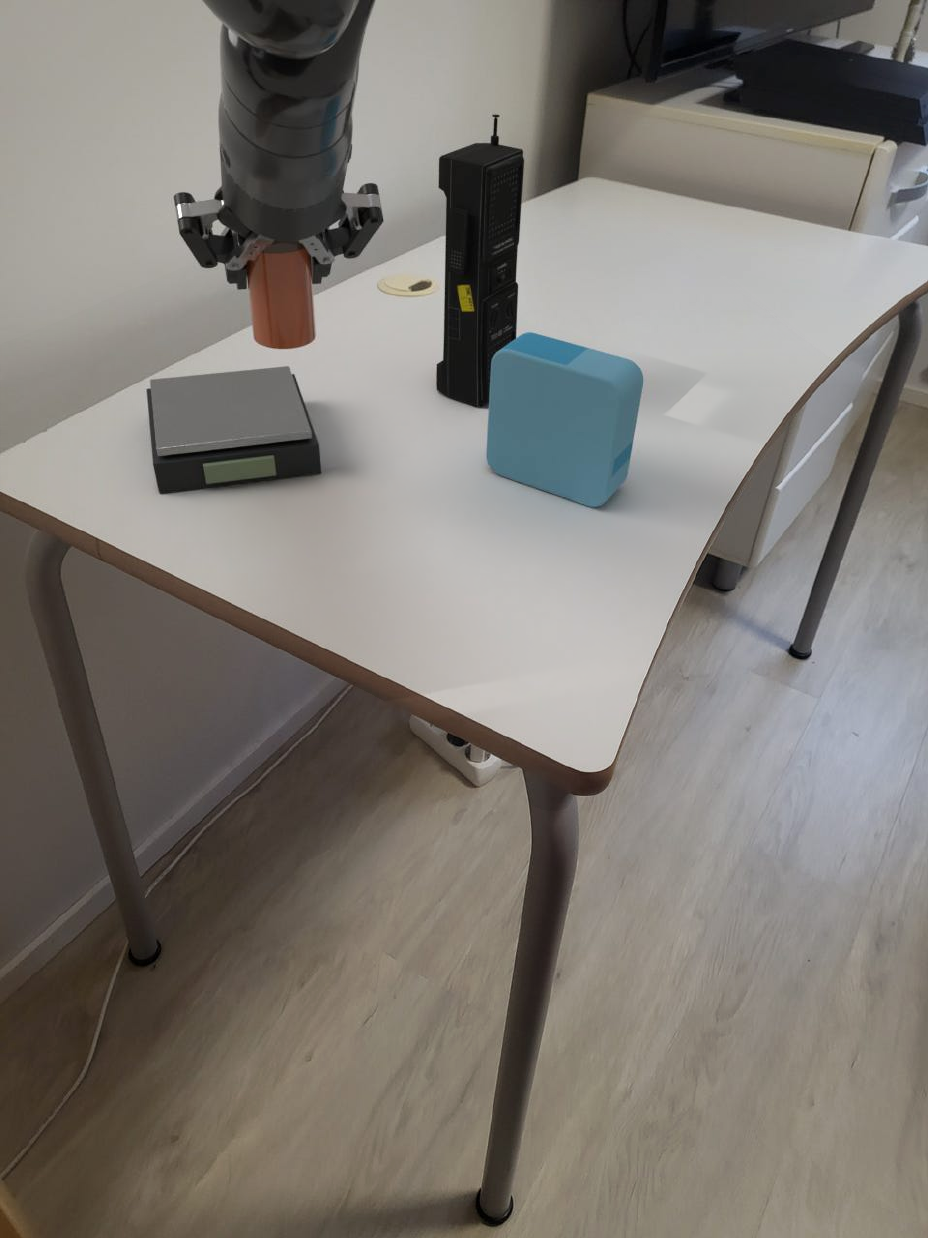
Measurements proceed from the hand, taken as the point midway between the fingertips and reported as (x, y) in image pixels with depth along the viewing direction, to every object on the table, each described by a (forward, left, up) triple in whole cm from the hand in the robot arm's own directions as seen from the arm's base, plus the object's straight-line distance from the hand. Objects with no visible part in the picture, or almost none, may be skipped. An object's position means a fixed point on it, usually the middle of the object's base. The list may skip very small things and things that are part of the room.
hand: (276, 274), depth 72 cm
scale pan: (-5, +7, -15) cm, 17 cm away
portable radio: (+20, +12, -18) cm, 30 cm away
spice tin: (0, -2, -4) cm, 4 cm away
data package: (+22, -6, -18) cm, 29 cm away
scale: (-5, +7, -18) cm, 20 cm away
